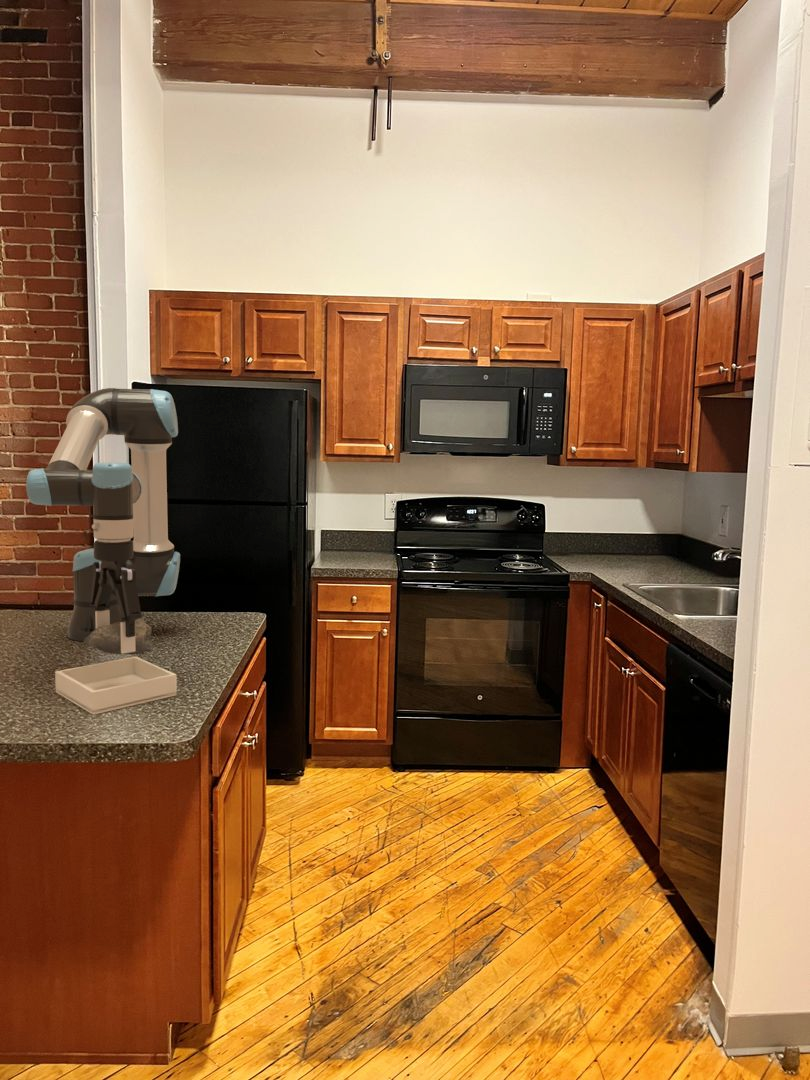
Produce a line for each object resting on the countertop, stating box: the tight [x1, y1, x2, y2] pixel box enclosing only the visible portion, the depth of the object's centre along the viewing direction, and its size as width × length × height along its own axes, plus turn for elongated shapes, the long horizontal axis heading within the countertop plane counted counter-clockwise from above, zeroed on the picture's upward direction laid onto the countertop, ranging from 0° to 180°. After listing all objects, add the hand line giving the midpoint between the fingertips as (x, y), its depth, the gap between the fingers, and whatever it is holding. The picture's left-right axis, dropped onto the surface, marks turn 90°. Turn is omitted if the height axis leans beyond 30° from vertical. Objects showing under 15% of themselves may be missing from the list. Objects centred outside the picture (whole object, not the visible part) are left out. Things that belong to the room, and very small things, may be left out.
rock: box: [82, 618, 154, 656], centre depth 159 cm, size 13×9×6 cm, turn 105°
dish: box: [54, 655, 178, 715], centre depth 160 cm, size 18×18×4 cm
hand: (115, 646), depth 159 cm, fingers closed on rock, 11 cm apart
